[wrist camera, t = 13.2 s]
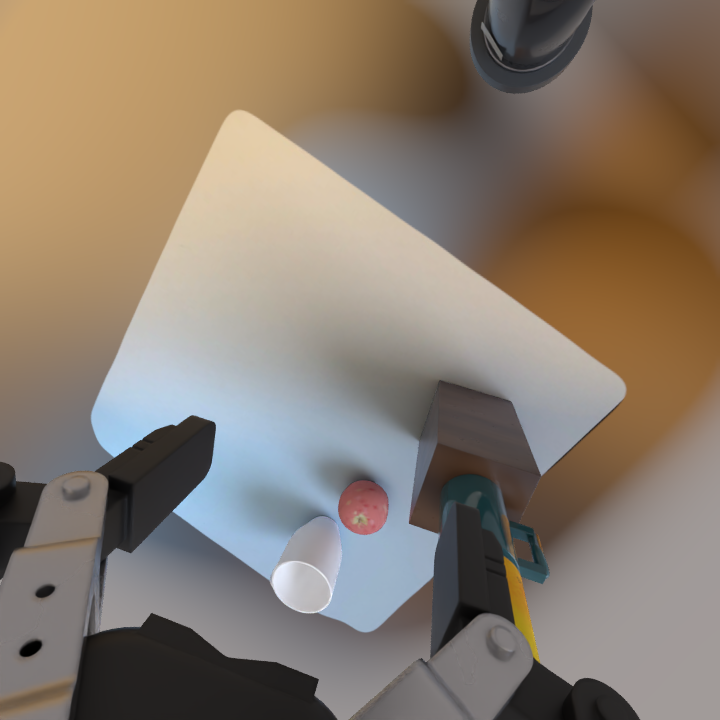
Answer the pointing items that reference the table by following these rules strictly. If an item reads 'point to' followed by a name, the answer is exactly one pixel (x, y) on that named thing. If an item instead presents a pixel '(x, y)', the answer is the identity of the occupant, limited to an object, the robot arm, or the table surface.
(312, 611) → the mug
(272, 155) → the table surface
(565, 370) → the table surface
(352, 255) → the table surface
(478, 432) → the walnut stand
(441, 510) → the teal mug
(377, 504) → the apple
